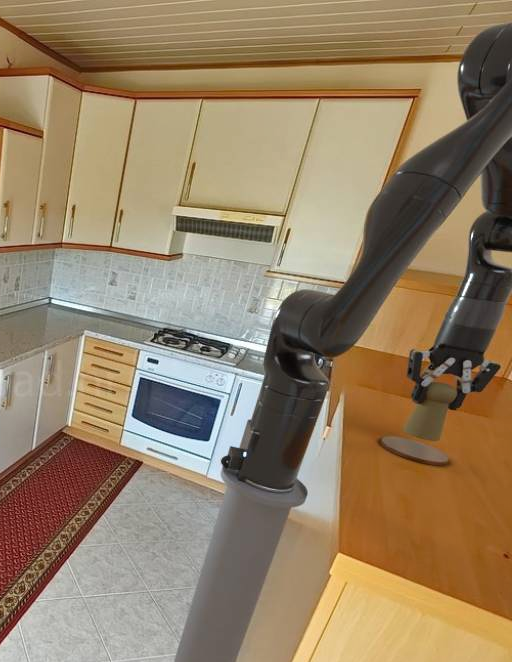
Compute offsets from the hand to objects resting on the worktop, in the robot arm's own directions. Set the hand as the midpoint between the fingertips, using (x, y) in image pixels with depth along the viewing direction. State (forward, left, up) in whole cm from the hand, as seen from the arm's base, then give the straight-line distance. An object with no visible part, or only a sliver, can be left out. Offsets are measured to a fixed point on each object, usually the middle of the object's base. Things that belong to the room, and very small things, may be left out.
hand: (433, 405), depth 97 cm
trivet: (0, 0, -11) cm, 10 cm away
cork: (0, 0, -7) cm, 7 cm away
